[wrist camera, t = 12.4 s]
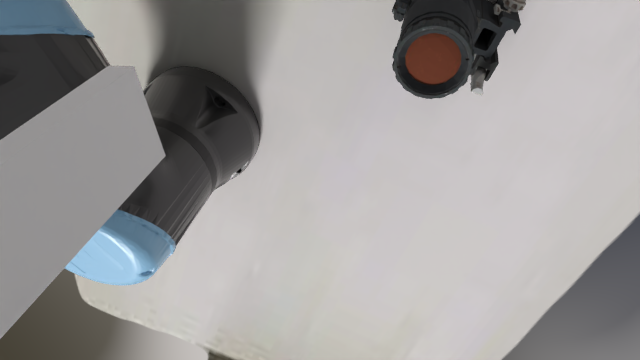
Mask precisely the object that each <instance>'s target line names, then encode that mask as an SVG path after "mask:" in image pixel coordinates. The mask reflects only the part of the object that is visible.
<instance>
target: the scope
mask: <svg viewBox="0 0 640 360" xmlns="http://www.w3.org/2000/svg"><path fill="white" fill-rule="evenodd" d="M525 1H526V0H497V4H495V5H494V4H492V3H491V2H489V1H487V0H396V2H395V4H394V7H393V9H392V12H393V14H394V19H395V20H398V21H399V22H400V21H402V20H403V18H404V21H403V24H402V27H401V28H402V30H401V34H400V38H399V40H398V43H397V46H396V47H395V50H394V54H393V58H394V61H393V64H392V66H393V70H394V71H395V73H396V79H397V80H398V82H400V83H401V85H402V86H403V88H404V89H405V90H407V91H409V92H411V93H412V94H413V95H415V96H418V97H423V98H427V99H432V98H442V97H445V96H447V95H449V94H453V93H454V92H456V91H458V89H459V88H460V87H461V86H463V85H464V84H465V83H466V82H467V78H468V76H469V75H471V84H470V85H471V92H473V93H476V94H478V95H481V96H482V95H483V83H484V80H485V81H488V80H489V78H490V77H491V75H492V73H493V72H494V70H495V68H496V67H497V65H498V64H499V63H498V53H497V46H498V45H499V43H500V41H501V40H502V38H503V36H504V35H505V33H506V31H508V30H511V29H513V31H514V33H515V34H516V32H517V30H518V28H519V27H520V25H521V23H520V19H519V15H518V10H523V8H524V7H525V5H526V3H525ZM486 70H487V71H486Z"/></svg>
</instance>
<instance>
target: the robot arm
mask: <svg viewBox="0 0 640 360" xmlns="http://www.w3.org/2000/svg"><path fill="white" fill-rule="evenodd" d="M93 38H94V35H93V34H92V33H91V32H90V31H89V30H87V29H86V28H85V26H84V25H83V24H82V22H81V21H80V19H79V18H78V16H77V15H76V14H75V12H74V11H73V9H72V8H71V6H70V5H69V4H68V2H67V1H66V0H0V339H1V337H2V336H3V335H4V334H5V333H6V332H7V331H8V330H9V328H10V327H11V326H12V325H13V324H14V323H15V322H16V321H17V320H18V319H19V317H20V316H21V315H22V314H23V313H24V312H25V311H26V310H27V309H28V308H29V306H30V305H31V304H32V303H33V302H34V301H35V300H36V299H37V297H38V296H39V295H40V294H41V293H42V292H43V291H44V290H45V289H46V288H47V287H48V285H49V284H50V283H51V282H52V281H53V280H54V279H55V278H56V276H57V275H58V274H59V273H60V272H61V271H62V270H63V269H64V268H66V269H67V270H69V271H71V272H73V273H75V274H77V275H79V276H82V277H85V278H88V279H90V280H93V281H97V282H100V283H105V284H111V285H132V284H137V283H140V282H143V281H145V280H147V279H148V278H150V277H151V276H152V275H153V274H154V273H155V272H156V271H157V270H158V269H159V267H160V266H161V265H162V264H163V263H164V261H165V260H166V259H167V258H168V257H169V256H170V255H171V254H173V252H174V250H175V248H176V245H177V244H178V242H179V241H180V239H181V238H182V236H183V235H184V233H185V232H186V230H187V229H188V227H189V226H190V224H191V223H192V221H193V220H194V218H195V217H196V216H197V214H198V213H199V211H200V210H201V208H202V207H203V205H204V204H205V202H206V201H207V199H208V198H209V196H210V195H211V193H212V192H213V191H214V190H215V189H217V188H218V187H220V186H222V185H223V184H225V183H226V182H228V181H229V180H230V179H233V178H234V177H236V176H238V175H239V174H240V173H242V172H243V171H244V170H245V169H246V168H247V166H248V165H249V163H250V162H251V160H252V159H253V157H254V156H255V154H256V152H257V149H258V146H259V138H260V135H259V127H258V123H257V119H256V117H255V114H254V112H253V110H252V108H251V107H250V105H249V103H248V102H247V101H246V99H245V98H244V97H243V96H242V94H241V93H240V92H239V91H238V90H237V89H236V88H235V87H233V86H232V85H231V84H230V83H228V82H227V81H226V80H224V79H223V78H221V77H219V76H217V75H215V74H213V73H211V72H209V71H206V70H202V69H199V68H193V67H178V68H173V69H170V70H167V71H165V72H163V73H162V74H160V75H159V76H158V77H157V78H155V79H154V80H153V81H152V82H151V83H150V84H149V85H148V86H147V87H146V88H145V89H144V91H143V90H142V87H141V84H140V82H139V79H138V76H137V73H136V70H135V67H134V66H110V64H109V63H108V61H107V59H106V58H105V56H104V55H103V53H102V51H101V50H100V48H99V47H98V45H97V43H96V42H95V40H94V39H93Z"/></svg>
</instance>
